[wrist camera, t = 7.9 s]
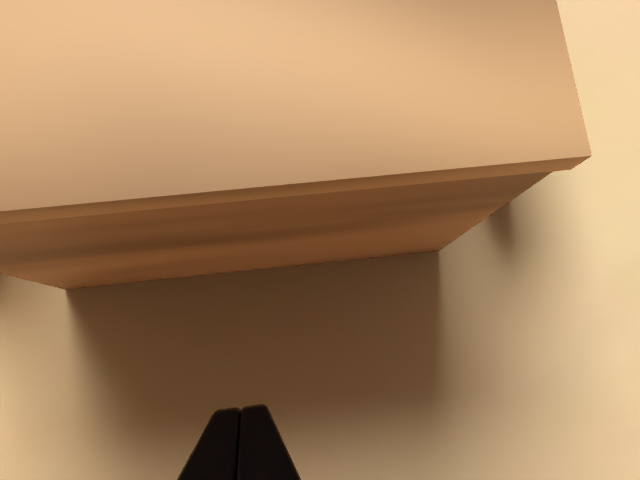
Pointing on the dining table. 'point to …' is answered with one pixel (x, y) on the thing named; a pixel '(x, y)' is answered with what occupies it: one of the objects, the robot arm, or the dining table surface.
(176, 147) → the tea box
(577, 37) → the dining table surface
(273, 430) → the robot arm
